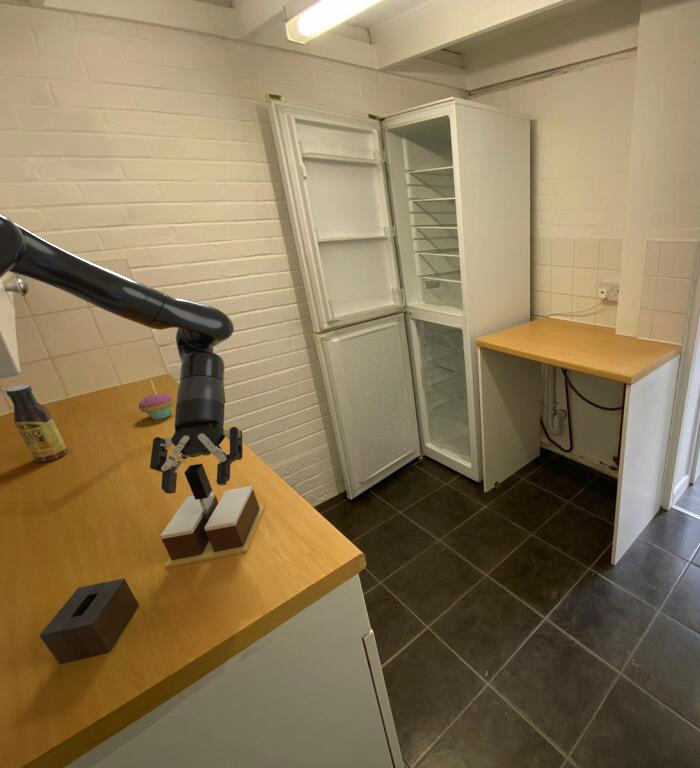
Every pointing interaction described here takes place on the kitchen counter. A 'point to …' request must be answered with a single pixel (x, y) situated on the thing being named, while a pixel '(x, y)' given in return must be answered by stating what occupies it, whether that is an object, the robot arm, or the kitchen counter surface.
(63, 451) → the sauce bottle
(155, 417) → the cupcake
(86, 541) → the kitchen counter surface
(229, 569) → the kitchen counter surface
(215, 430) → the robot arm
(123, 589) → the knife block
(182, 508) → the cake
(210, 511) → the knife
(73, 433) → the kitchen counter surface
